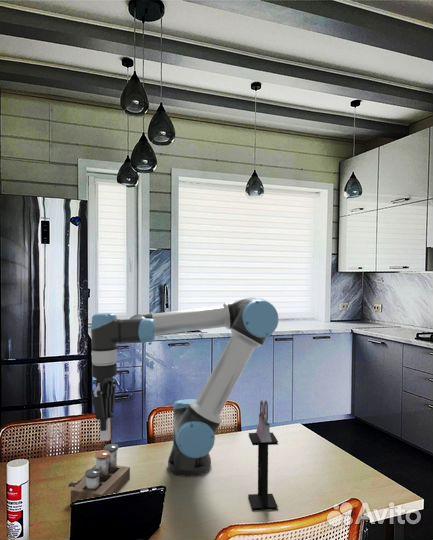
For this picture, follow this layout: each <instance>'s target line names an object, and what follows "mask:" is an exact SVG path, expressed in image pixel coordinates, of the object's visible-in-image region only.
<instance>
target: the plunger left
mask: <svg viewBox="0 0 433 540" xmlns="http://www.w3.org/2000/svg"><path fill="white" fill-rule="evenodd" d="M100 474H101V470H100V469H98V468H93V467H92V468H89V469H86V470H85V471H84V475H85V476H86V490H91V491H96V490H97V489H98V488H99V475H100Z"/></svg>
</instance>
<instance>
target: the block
mask: <svg viewBox="0 0 433 540" xmlns="http://www.w3.org/2000/svg"><path fill="white" fill-rule="evenodd" d="M130 480H131V467H130V466H123V465H117V471H116V472H115V473H111V474H110V473H108V480H106V481H103V482H100V481H99V488H98V489H97V490H96V491H91V490H86V478H85V479H83V480H82V481H81V482H80V483H79V484H75V485H76V486H75V487H72V489H71V490H70V504H71V503H72V502H73V501H76V500H81V499H87V498H92V497H99V496H104V495H108V494H113V493H116V494H118V493H119V491H121V490H122V489H123V487H124V486H125V485H126V484H127V483H128V482H129V481H130Z"/></svg>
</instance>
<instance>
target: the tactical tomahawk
mask: <svg viewBox="0 0 433 540" xmlns="http://www.w3.org/2000/svg"><path fill="white" fill-rule="evenodd" d="M92 468H96V464H95V465H93V467H92ZM85 478H86V476H85V474H83V476H82V477H81V478H79V479H78V480H77V482H70V483H68V486H69V487H72V488H74V487H75V486H76V485H77V484H79V483H80V482H81V481H82V480H83V479H85Z"/></svg>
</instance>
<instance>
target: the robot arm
mask: <svg viewBox="0 0 433 540" xmlns="http://www.w3.org/2000/svg"><path fill="white" fill-rule="evenodd" d="M278 325H279V314H278V311H277V309H276V307H275V306H274V304H272V303H271V302H270V301H268V300H266V299H264V298H256V297H247V298H243V299H238V300H235V301H228V302H224V303H223V304H222V305H218V306H208V307H200V308H191V309H181V310H175V311H165V312H164V311H163V312H156V313H149V314H148V313H147V314H146V313H145V314H135V315H132V316H130V318H126V319H125V318H124V319H119V318H117V314H116V313H114V312H113V313H112V312H103V313H102V312H101V313H95V314H93V315H92V316H91V326H90V327H91V328H90V330H91V331H90V335H91V353H90V355H91V363H92V365H91V377H92V378H95V379H96V380H95V389H94V390H91V393H90V394H91V396H92V399H93V401H92V402H93V406H94V415H95V416H94V417H95V420H96V421H99V439H100V440H99V441H102V442H103V441H104V442H109V441H110V440H111V418H113V417H114V412H115V411H114V410H115V400H116V390H117V389H116V388H117V385H118V381H116V380H114V377H116V376H117V374H118V363H116V362H117V361H118V354H117V352H118V351H117V349H118V348H117V347H118V346H117V344H119V345H120V344H139V343H140V344H146V343H153V342H154V341H155V339H156V336H158V335H166V334H175V333H176V334H177V333H185V332H192V331H201V330H202V331H203V330H210V329H217V328H226V329H227V330H230V333H231V337H230V339H229V340H228V342H227V345H226V346H225V348H224V350H223V352H222V353H221V355H220V357H219V359H218V361H217V362H216V364H215V366H214V368H213V370H212V372H211V374H210V375H209V377H208V379H207V381H206V383H205V385H204V387H203V389H202V391H201V392H200V393H199V396H198V397H197V398H195V399H193V398H186V399H179V400H176V401H175V402H174V404H173V425H172V426H173V429H172V430H173V436H172V438H173V439H172V441H173V443H172V447H171V450H170V452H169V456H168V460H167V470H168V471H169V472H170V473H171V474H173V475H176V476H180V477H196V476H201V475H204V474H206V473H208V472H209V471H210V470H211V468H212V458H211V455H210V452H211V451H212V449H213V447H214V445H215V442H216V441H215V440H216V437H215V436H216V435H215V434H216V433H217V431H218V429H219V427H220V426H221V423H222V417H221V413H222V411H223V409H224V408H225V405H226V404H227V402H228V400H229V398H230V396H231V394H232V393H233V391H234V389H235V387H236V385H237V383H238V381H239V379H240V378H241V376H242V374H243V372H244V370H245V368H246V366H247V365H248V363H249V361H250V359H251V357H252V356H253V353H254V351H255V350H256V349H257V348H260V347H262V346H263V344H264V343H265V341H266V339H267V337H268V336H270V335H272V334H273V333H275V331H276V330H277V328H278Z"/></svg>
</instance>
